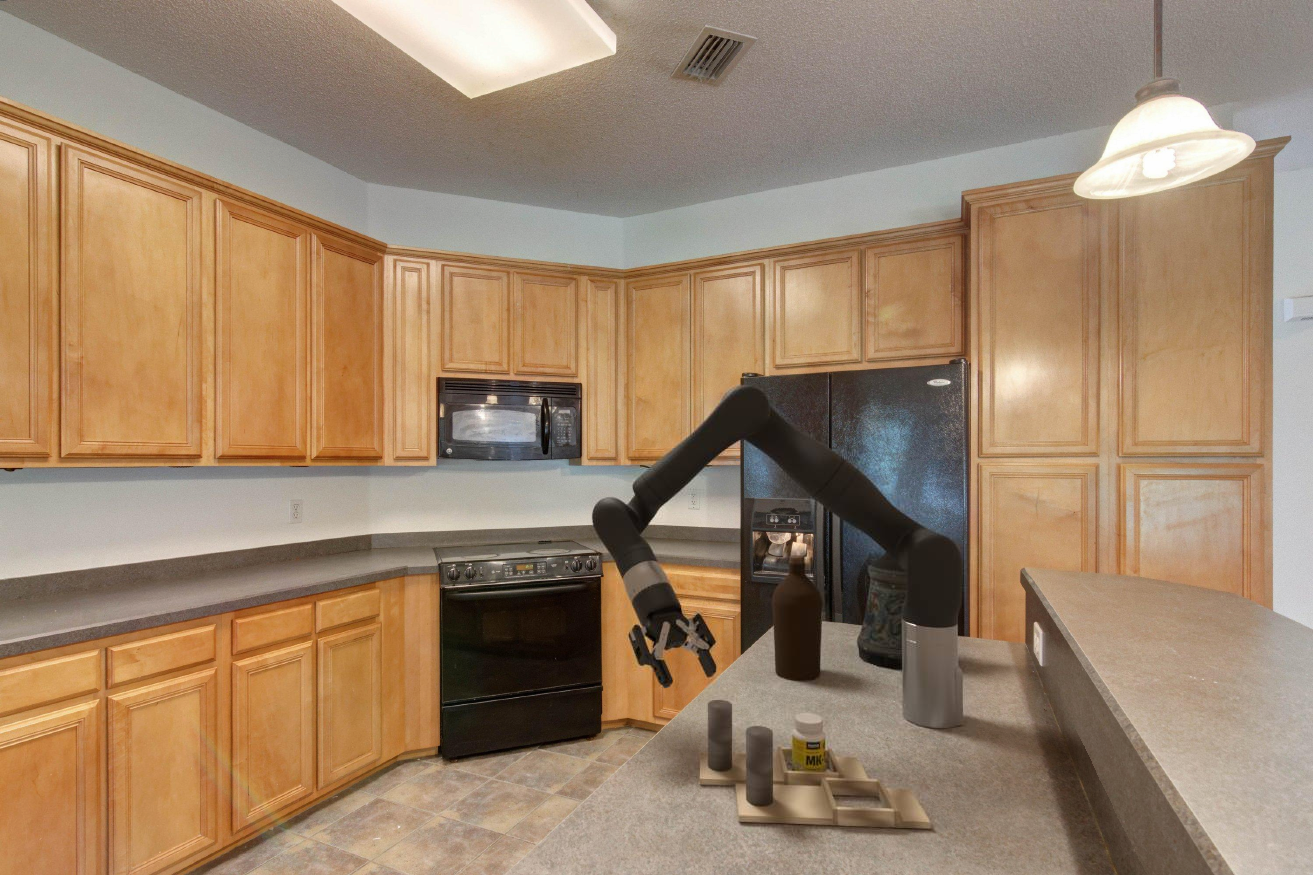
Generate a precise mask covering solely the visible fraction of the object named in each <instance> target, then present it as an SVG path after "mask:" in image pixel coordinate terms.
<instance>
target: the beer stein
mask: <svg viewBox="0 0 1313 875" xmlns="http://www.w3.org/2000/svg"><path fill="white" fill-rule="evenodd" d="M867 571H868V575H869V577H870V583H869V589H868V596H867V601H866V609H865V614H864V619H863V623H862V626H861V630H860V631H859V634H858V636H857V639H856V644H857V650H858V657H859V658H860V659H861V661H863V663H867V664H870V665H872V664H873V665H872V666H875V665H876V667H879V668H883V669H889V668H890V670H895V671H896V670H897V671H902V604H903V603H904V602H905V600H906V596H907V573H906V572H905V571H904V570H903V569H902V568H901V566H900V565H899V564H898V563H897V562H896V561H895V560H894V559H893V558H892V557H891V556H890V555H889V554H888V553H887V552H886V551H885V553H884V554H883V555H881V556H880V557H878V558H877V559H875V560H874V561H872V562H871V563H870V565H869V566H868V568H867Z"/></svg>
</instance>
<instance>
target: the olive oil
mask: <svg viewBox="0 0 1313 875" xmlns="http://www.w3.org/2000/svg"><path fill="white" fill-rule="evenodd" d="M805 559H806V558H805V556H804V555H797V554H796V555H790V556H789V561H788V571H789V572H788V574H787V576H786V577H785V578H783V580H782V581H781V582H780V583H779V584H778V585H777V586H776V588H775V589H774V591H773V594H772V600H771V606H772V607H771V608H772V623H773V625H772V626H773V642H774V665H775V666H774V668H775V669H774V670H775V673H776V674H777V676H779V677H781V678H782V679H783V678H784V679H787V680H790V681H798V682H799V681H801V682H802V681H806V682H807V681H812V680H816V679H818V678H819V677H820V676H821V658H822V657H821V653H822V634H823V632H822V630H823V629H822V628H823V611H824V610H823V609H824V602H823V597H822V594H821V591H820V589H818V587H817V586H816V585H815V583H813V581H812V580H810V578H809V577H808V576H807V575H806V563H805Z"/></svg>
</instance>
